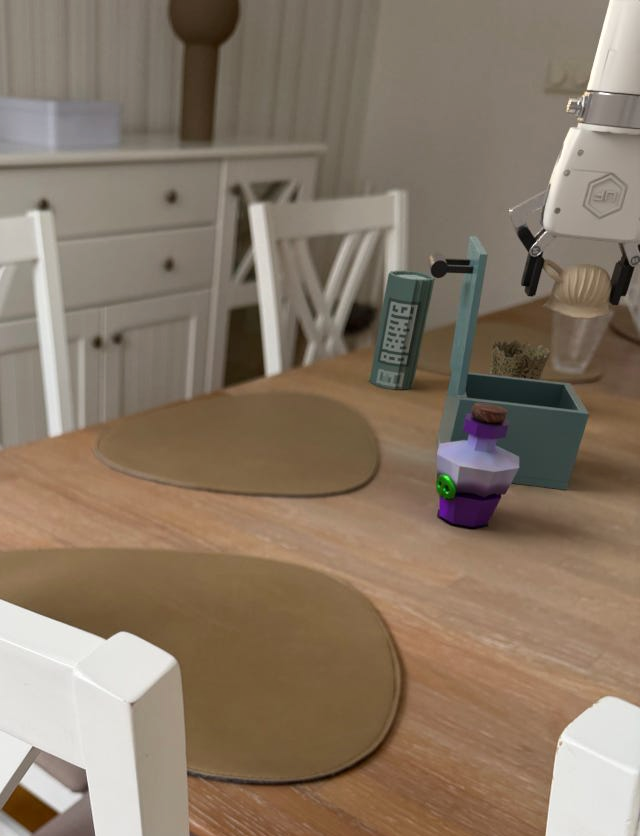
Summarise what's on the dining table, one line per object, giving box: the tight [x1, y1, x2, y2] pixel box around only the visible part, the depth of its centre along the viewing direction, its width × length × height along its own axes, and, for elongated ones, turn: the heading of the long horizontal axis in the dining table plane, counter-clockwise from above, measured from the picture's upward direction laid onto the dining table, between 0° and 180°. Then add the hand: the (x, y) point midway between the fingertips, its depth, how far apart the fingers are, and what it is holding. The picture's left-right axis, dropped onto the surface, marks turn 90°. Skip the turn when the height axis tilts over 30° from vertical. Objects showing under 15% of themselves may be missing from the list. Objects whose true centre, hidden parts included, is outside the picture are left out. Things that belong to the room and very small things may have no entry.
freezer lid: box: [427, 235, 489, 395], centre depth 109 cm, size 15×12×5 cm
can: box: [368, 269, 436, 391], centre depth 138 cm, size 6×6×15 cm
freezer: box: [436, 371, 590, 491], centre depth 114 cm, size 14×12×9 cm
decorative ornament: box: [541, 258, 611, 320], centre depth 105 cm, size 4×8×5 cm, turn 76°
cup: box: [489, 339, 551, 380], centre depth 135 cm, size 8×7×8 cm
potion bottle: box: [435, 403, 519, 530], centre depth 99 cm, size 9×9×12 cm
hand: (570, 297), depth 106 cm, fingers closed on decorative ornament, 8 cm apart
